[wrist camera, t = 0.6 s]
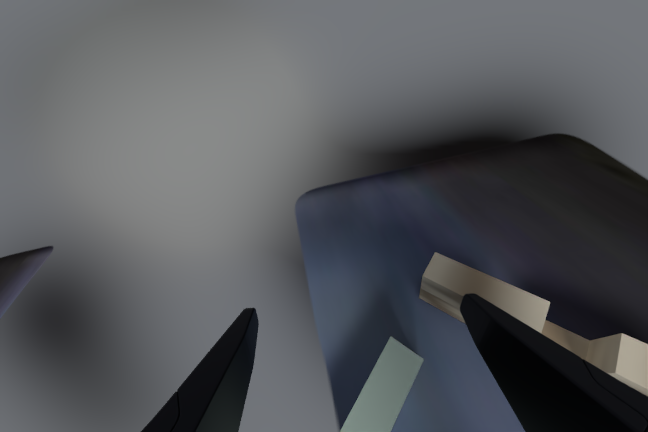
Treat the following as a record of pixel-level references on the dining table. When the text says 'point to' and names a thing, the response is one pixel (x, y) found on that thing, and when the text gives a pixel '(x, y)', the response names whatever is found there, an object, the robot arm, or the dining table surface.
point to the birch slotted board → (533, 318)
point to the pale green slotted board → (384, 390)
